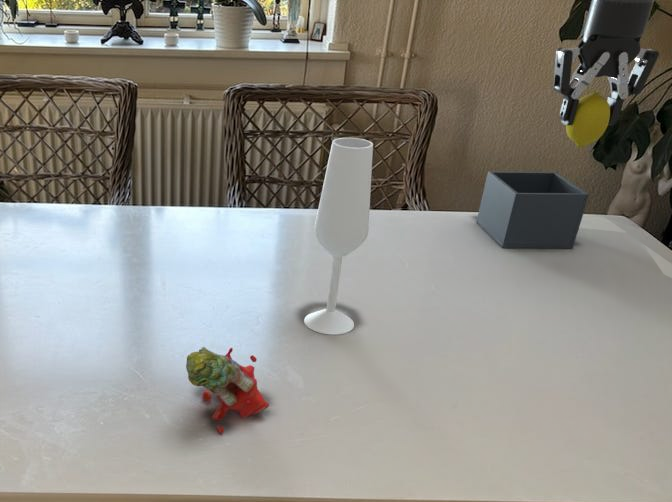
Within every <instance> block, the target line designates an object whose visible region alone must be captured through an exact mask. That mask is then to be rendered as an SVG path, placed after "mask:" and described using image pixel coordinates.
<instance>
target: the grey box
mask: <svg viewBox="0 0 672 502" xmlns="http://www.w3.org/2000/svg"><path fill="white" fill-rule="evenodd" d="M483 187H484V188H483V191H482V192H483V193H482V196H481V201H480V205H479V209H478V214H477V217H476V223H477V224H478V225H479V227H480V228H481V229H482V230H484V231H485V232H486V234H488V235H489V236H490V238H492V240H494V242H495V243H496V244H497V245H498V246H499V247H500V248H501V249H574V246H575V243H576V239H577V236H578V233H579V229H580V226H581V223H582V219H583V217H584V213H585V209H586V206H587V204H588V200H589V197H590V194H589V193H588V192H586V191H585V190H584V189H582V188H581V187H580V186H579V187H578V186H577V185H576V184H575V183H573V182H572V181H570V180H569V179H567V178H565V177H564V176H562V175H561V174H559V173H558V172H556V171H487V175H486V179H485V183H484V186H483Z"/></svg>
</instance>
